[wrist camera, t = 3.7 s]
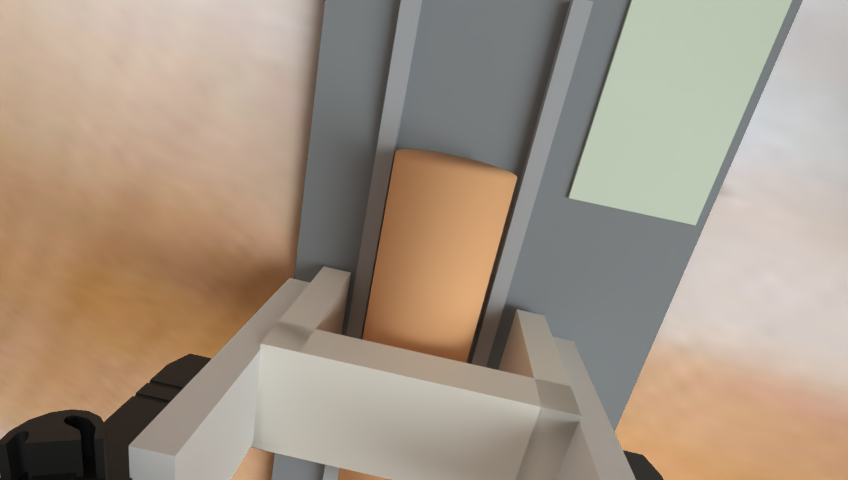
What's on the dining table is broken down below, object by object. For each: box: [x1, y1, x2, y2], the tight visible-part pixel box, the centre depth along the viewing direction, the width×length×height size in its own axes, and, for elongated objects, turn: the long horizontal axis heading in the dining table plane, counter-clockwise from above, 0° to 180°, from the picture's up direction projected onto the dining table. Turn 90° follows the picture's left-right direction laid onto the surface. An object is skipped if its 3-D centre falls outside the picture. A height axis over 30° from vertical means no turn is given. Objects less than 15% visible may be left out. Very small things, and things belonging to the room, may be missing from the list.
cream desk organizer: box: [252, 267, 582, 480], centre depth 12 cm, size 3×7×4 cm, turn 79°
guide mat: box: [272, 0, 802, 480], centre depth 15 cm, size 24×12×1 cm, turn 169°
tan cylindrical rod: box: [337, 149, 517, 480], centre depth 13 cm, size 12×3×3 cm, turn 169°
